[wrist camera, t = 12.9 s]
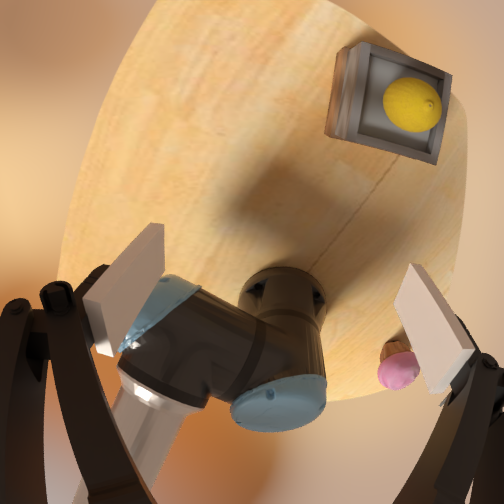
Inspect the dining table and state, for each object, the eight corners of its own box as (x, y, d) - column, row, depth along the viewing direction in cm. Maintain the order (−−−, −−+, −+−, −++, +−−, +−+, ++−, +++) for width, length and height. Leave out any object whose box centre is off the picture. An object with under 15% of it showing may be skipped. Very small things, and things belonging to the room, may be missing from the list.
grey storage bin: (401, 153, 38) (438, 170, 28) (324, 133, 38) (340, 143, 28) (415, 77, 32) (456, 73, 22) (336, 53, 32) (357, 35, 22)
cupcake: (370, 364, 58) (378, 400, 49) (373, 336, 54) (384, 374, 45) (407, 356, 56) (419, 391, 47) (413, 328, 52) (429, 364, 43)
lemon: (425, 98, 25) (463, 100, 18) (405, 137, 28) (439, 149, 21) (386, 70, 25) (417, 62, 18) (364, 110, 27) (391, 113, 20)
